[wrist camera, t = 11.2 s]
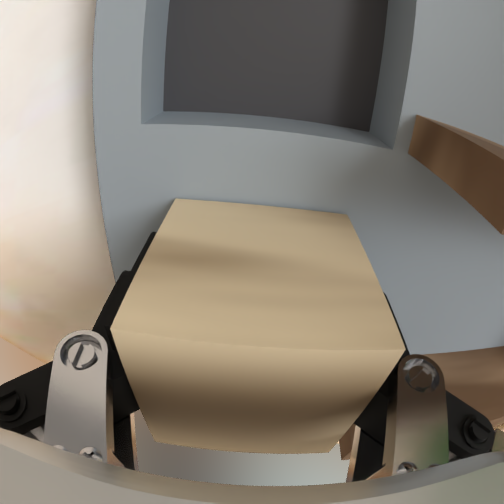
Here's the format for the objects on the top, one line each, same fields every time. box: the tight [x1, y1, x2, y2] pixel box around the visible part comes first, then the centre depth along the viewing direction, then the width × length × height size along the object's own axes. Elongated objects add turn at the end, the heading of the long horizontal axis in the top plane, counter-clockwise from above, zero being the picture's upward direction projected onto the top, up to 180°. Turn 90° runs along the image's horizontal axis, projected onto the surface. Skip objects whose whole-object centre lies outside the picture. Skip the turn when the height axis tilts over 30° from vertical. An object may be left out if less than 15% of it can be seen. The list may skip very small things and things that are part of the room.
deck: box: [93, 0, 504, 355], centre depth 10 cm, size 20×24×3 cm
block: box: [110, 199, 406, 454], centre depth 8 cm, size 5×5×5 cm
